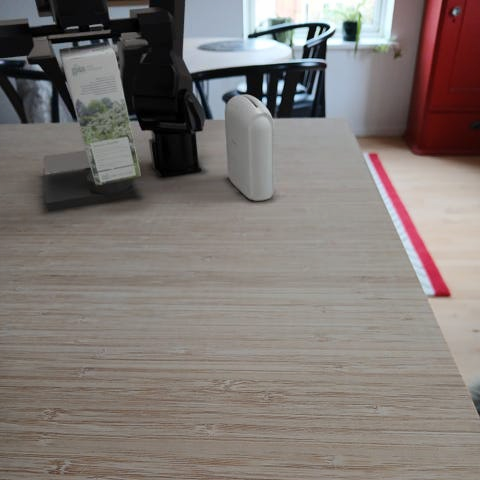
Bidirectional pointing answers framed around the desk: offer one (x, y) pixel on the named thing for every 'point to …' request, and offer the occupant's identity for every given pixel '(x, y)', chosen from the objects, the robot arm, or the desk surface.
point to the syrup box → (101, 111)
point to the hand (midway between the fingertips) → (101, 114)
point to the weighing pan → (66, 163)
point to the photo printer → (250, 146)
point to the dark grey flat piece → (83, 190)
